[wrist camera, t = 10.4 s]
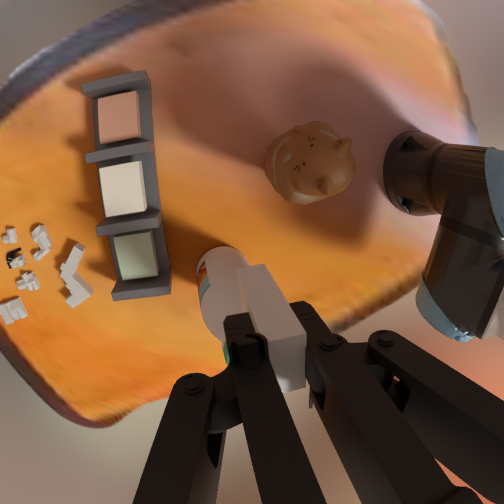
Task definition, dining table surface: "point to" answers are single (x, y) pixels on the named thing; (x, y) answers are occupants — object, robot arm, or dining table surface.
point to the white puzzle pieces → (30, 281)
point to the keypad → (153, 213)
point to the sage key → (136, 254)
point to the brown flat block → (119, 118)
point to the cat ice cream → (309, 163)
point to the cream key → (123, 188)
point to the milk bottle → (219, 288)
